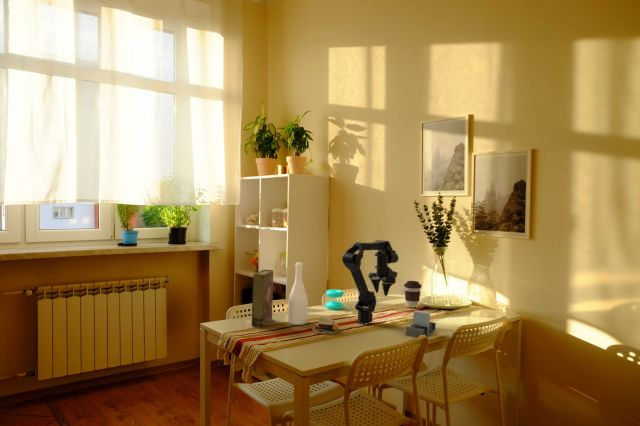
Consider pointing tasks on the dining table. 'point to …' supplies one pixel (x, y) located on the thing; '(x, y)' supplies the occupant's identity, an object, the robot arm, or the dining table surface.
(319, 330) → the toy sandwich meal
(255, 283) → the book
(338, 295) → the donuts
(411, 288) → the coffee cup
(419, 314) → the tall grey-blue box
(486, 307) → the dining table surface
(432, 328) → the dish rack
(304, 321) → the wine bottle
